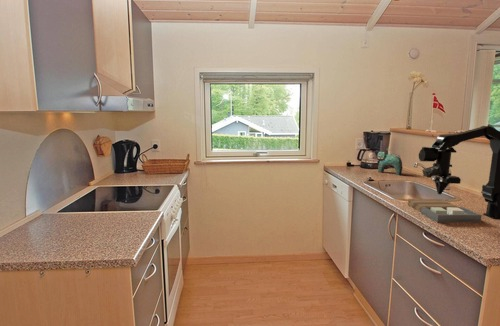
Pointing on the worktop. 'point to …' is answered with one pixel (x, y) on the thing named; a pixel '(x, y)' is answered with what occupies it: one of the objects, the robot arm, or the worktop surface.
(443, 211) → the sage tile
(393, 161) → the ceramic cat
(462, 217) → the box
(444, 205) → the walnut plate
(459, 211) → the white tile
